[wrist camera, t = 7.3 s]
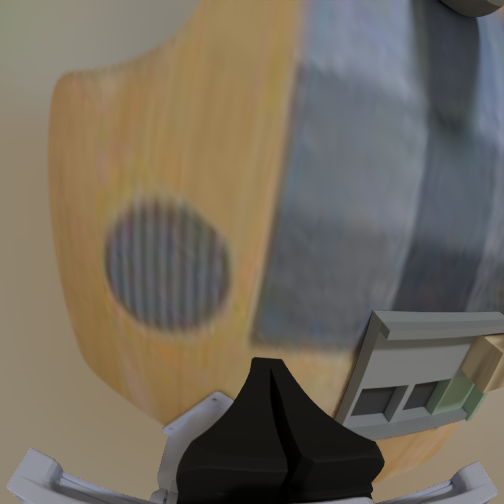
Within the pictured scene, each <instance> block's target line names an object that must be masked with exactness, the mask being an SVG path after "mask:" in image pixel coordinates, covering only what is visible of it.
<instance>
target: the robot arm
mask: <svg viewBox="0 0 504 504" xmlns="http://www.w3.org/2000/svg"><path fill="white" fill-rule="evenodd" d="M213 398H215V399H213ZM162 433H163V434H165V435H167V436H168V439H167V443H166V446H165V450H164V454H163V457H162V461H161V464H160V468H159V472H158V485H159V488H160V489H159V490H157V491H155V492H154V493H152V495H151V497H150V500H149V501H146V500H142V499H138V498H135V497H131V496H128V495H125V494H121V493H118V492H115V491H112V490H109V489H106V488H103V487H101V486H98V485H95V484H92V483H90V482H87V481H85V480H82V479H80V478H77V477H75V476H73V475H71V474H69V473H66V472H64V471H63V469H62V468H61V466H60V464H59V463H58V462H57V461H55V460H54V459H52V458H51V457H49V456H47V455H45V454H43V453H41V452H39V451H37V450H36V449H34V448H30V449H29V450H28V452H27V453H26V455H25V456H24V458H23V460H22V461H21V463H20V464H19V466H18V468H17V469H16V471H15V472H14V474H13V476H12V478H11V479H10V481H9V482H8V484H7V486H6V487H7V489H8V490H9V491H10V492H11V493H12V494H13V495H14V496H15V497H16V498H17V499H18V500H19V501H20V502H21V503H22V504H374V503H373V500H372V497H371V493H372V491H373V487H372V484H371V483H372V481H373V480H374V479H375V478H376V477H377V475H378V474H379V473H380V472H381V470H382V468H383V467H384V463H385V461H384V459H383V456H382V454H381V451H380V449H379V447H378V446H377V444H376V442H375V441H372V440H370V439H368V438H365V437H363V436H361V435H359V434H357V433H355V432H353V431H351V430H349V429H348V428H346V427H344V426H343V425H341V424H340V423H338V422H337V421H335V420H334V419H333V418H331V417H330V416H329V415H327V414H326V413H325V412H324V411H323V410H322V409H320V408H319V407H318V406H317V405H316V404H315V403H314V402H313V401H312V400H311V399H310V398H309V396H308V395H307V394H306V393H305V392H304V391H303V389H302V388H301V387H300V386H299V384H298V383H297V382H296V380H295V379H294V377H293V376H292V374H291V373H290V371H289V370H288V368H287V367H286V365H285V363H284V362H283V360H282V359H272V358H259V357H254V358H253V359H252V361H251V368H250V372H249V375H248V377H247V379H246V382H245V384H244V386H243V387H242V389H241V391H240V393H239V394H238V396H237V397H236V399H235V400H234V401H233V400H232V399H230V398H229V397H227V396H226V395H224V394H223V393H221V392H218V391H217V392H214V393H212V394H211V395H210V396H208V397H207V398H206V399H204V400H203V401H201V402H200V403H199V404H197V405H196V406H194V407H193V408H191V409H190V410H189V411H187V412H186V413H184V414H183V415H181V416H180V417H178V418H177V419H175V420H174V421H172V422H171V423H169V424H168V425H166V426H165V427H163V428H162ZM497 493H498V492H497V490H496V488H495V487H494V485H493V484H492V482H491V480H490V479H489V477H488V475H487V474H486V472H485V471H484V469H483V467H482V466H481V464H480V463H479V461H476V462H474V463H472V464H470V465H468V466H465V467H464V468H462V469H460V470H459V471H458V472H457V473H456V474H455V475H454V476H453V477H452V479H450V480H448V481H445V482H443V483H440V484H437V485H435V486H432V487H429V488H427V489H424V490H421V491H418V492H415V493H412V494H409V495H405V496H402V497H398V498H395V499H392V500H387V501H383V502H379V503H375V504H487V503H488V502H489V501H490V500H491V499H492V498H494V497H495V496H496V495H497Z"/></svg>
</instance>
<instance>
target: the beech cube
mask: <svg viewBox="0 0 504 504" xmlns="http://www.w3.org/2000/svg"><path fill="white" fill-rule="evenodd" d="M461 370H462V371H463V372H464V373H465V375H466V376H467V377H468V378H469V379H470V380H471V381H472V382H473V383H474V384H475V385H476V387H477V388H478V389H479V390H480V391H481V392H482V393H485V392H488V391H491V390H494V389H498V388H500V387H503V386H504V333H496V334H487V335H477V336H475V338H474V341H473V343H472V346H471V348H470V350H469V352H468V355H467V357H466V359H465V361H464V363H463V365H462V368H461Z"/></svg>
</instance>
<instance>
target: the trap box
mask: <svg viewBox="0 0 504 504" xmlns="http://www.w3.org/2000/svg"><path fill="white" fill-rule="evenodd" d="M496 333H504V315H503V314H501V313H500V312H397V311H373V312H372V316H371V319H370V323H369V326H368V329H367V333H366V336H365V339H364V342H363V345H362V348H361V351H360V354H359V357H358V360H357V363H356V366H355V369H354V371H353V374H352V377H351V380H350V382H349V385H348V388H347V390H346V393H345V395H344V398H343V400H342V403H341V405H340V408H339V410H338V412H337V415H336V417H335V419H334V420H335V421H337V422H338V423H340V424H341V425H343V426H344V427H346V428H348V429H349V430H351V431H353V432H355V433H357V434H359V435H361V436H363V437H365V438H368V439H370V440H378V439H385V438H391V437H396V436H401V435H406V434H411V433H416V432H420V431H424V430H428V429H432V428H436V427H440V426H443V425H447V424H450V423H454V422H457V421H460V420H463V419H466V421H469V420H471V419H472V417H473V416H474V414H475V413H476V411H477V410H478V408H479V406H480V405H481V403H482V402H483V400H484V398H485V397H486V395H487V393H488V392H489V391H488V392H485V393H482V392H481V391H480V390H479V389H478V388H477V387H476V385H475V384H474V383H473V382H472V381H471V380H470V379H469V378H468V377H467V376H466V375H465V373H464V372H463V371H462V370H461V368H462V365H463V363H464V361H465V359H466V357H467V355H468V352H469V350H470V348H471V346H472V343H473V341H474V338H475V336H477V335H487V334H496Z"/></svg>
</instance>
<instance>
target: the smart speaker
mask: <svg viewBox="0 0 504 504" xmlns="http://www.w3.org/2000/svg"><path fill="white" fill-rule="evenodd" d="M440 1H441V2H443V3H444V4H445V5H447V6H448V7H449V8H451V9H452V10H454V11H456V12H458V13H460V14H462V15H465V16H469V17H481V16H485V15H488V14H491V13H493V12H494V11H496V10H498V9H499V8H501V7H503V6H504V0H440Z"/></svg>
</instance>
